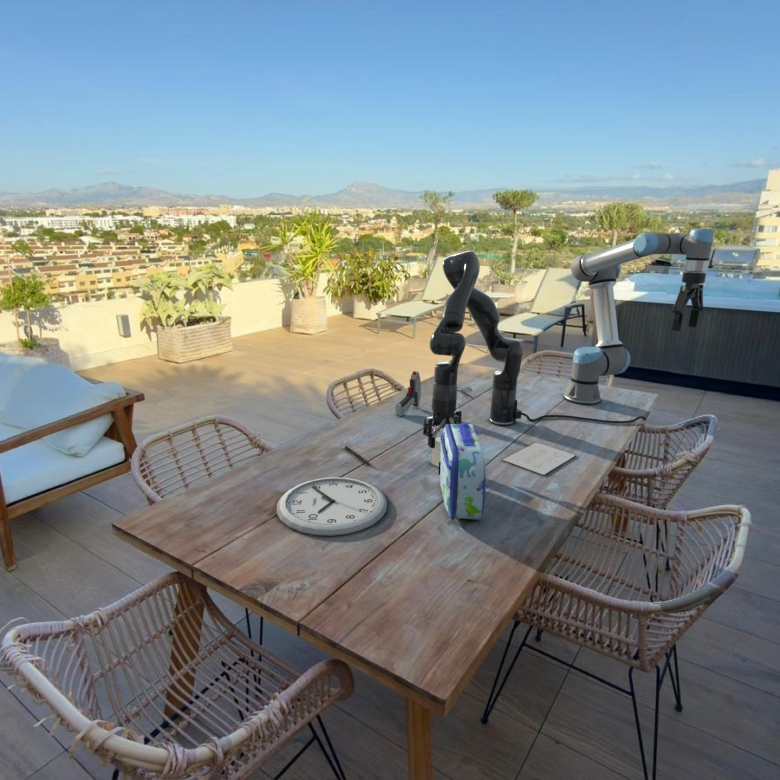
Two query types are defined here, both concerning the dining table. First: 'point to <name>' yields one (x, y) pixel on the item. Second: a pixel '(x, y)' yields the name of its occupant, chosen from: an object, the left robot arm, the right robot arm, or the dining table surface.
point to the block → (436, 452)
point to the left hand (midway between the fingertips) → (441, 444)
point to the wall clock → (331, 506)
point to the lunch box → (462, 472)
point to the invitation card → (539, 458)
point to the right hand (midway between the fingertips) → (684, 328)
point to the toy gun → (410, 395)
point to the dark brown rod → (357, 455)
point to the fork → (461, 390)
